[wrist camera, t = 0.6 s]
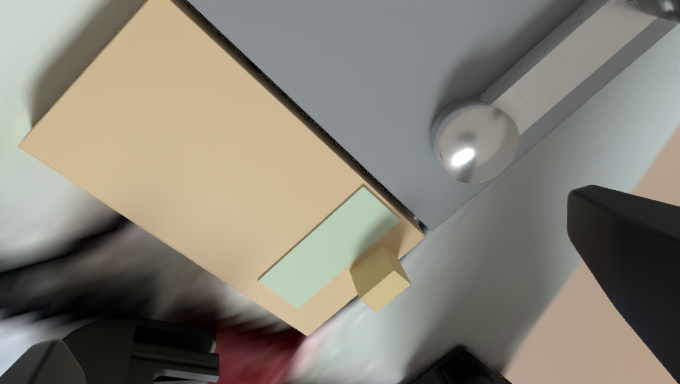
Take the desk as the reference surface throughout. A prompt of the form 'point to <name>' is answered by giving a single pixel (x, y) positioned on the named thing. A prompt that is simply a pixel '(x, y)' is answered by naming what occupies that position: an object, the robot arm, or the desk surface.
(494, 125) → the door handle
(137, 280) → the desk surface
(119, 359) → the end cap
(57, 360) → the robot arm
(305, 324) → the door board
